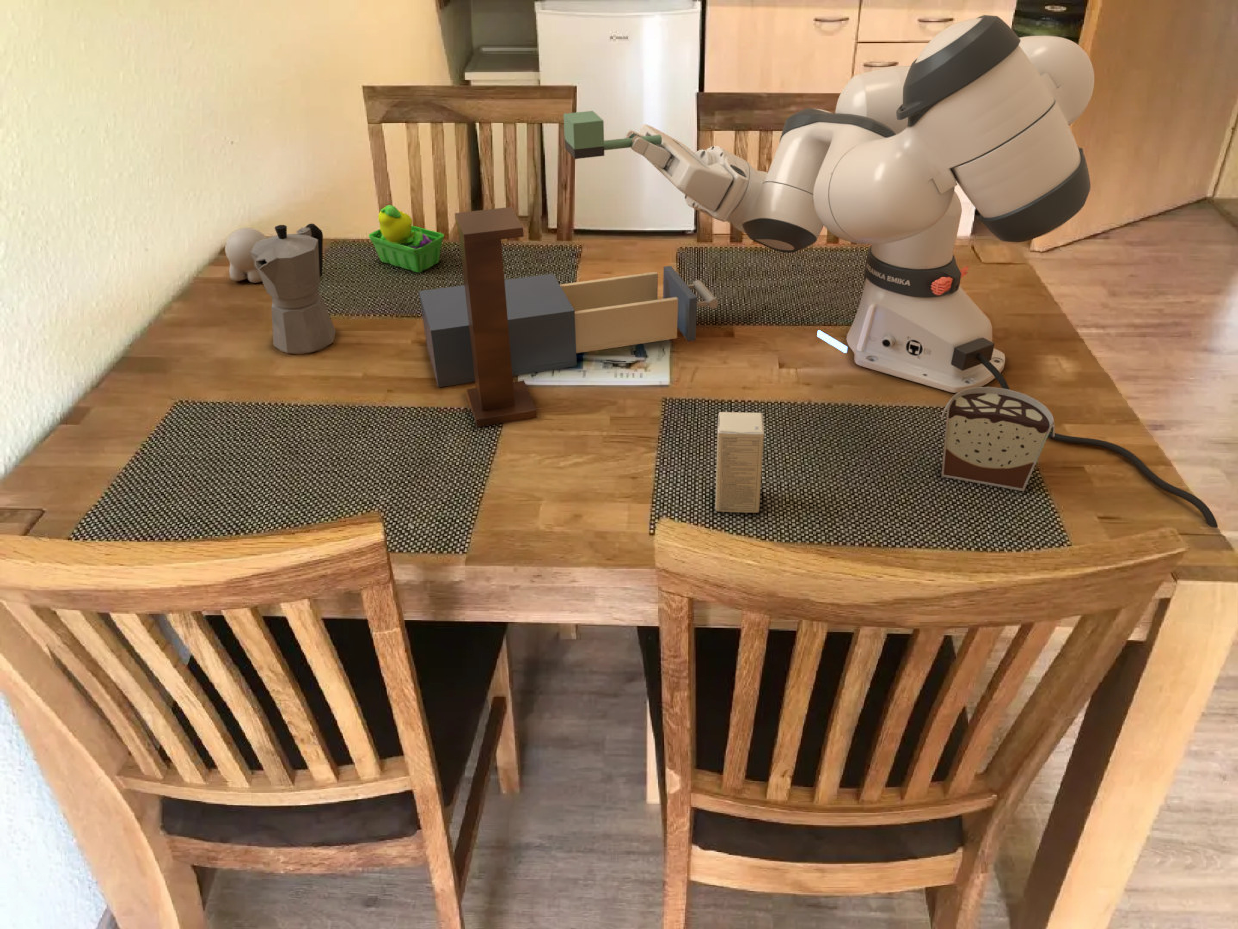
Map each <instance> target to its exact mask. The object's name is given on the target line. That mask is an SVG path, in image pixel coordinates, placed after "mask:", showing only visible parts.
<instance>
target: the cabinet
mask: <svg viewBox="0 0 1238 929" xmlns="http://www.w3.org/2000/svg"><path fill="white" fill-rule="evenodd" d="M504 280H505V292H506V304H507V316H508V328H509V340H510V352H511V364H512V376H513V377H516V376H521V375H528V374H535V373H541V372H547V371H555V370H562V369H567V368H574V367H577V366H578V362H577V358H578V357H577V353H576V333H575V310H574V309H573V307H572V305H571V303H570V302H569V300H568V298H567V296H566V295H565V293H564V291H563V290H562V288H561V286H560V284H561V283H560V282H559V281H558V279H557V277H556V275H555V273H547V274H539V275H531V276H524V277H515V278H510V279H509V278H508V279H504ZM418 294H419V295H418V296H419V301H420V308H421V316H422V323H423V330H424V337H425V343H426V348H427V353H428V356H429V359H430V360H429V361H430V363H431V366H432V370H433V374H434V377H435V380H436V384H437V388H443V387H449V386H457V385H463V384H470V383H475V377H474V368H473V359H472V350H471V341H470V331H469V322H468V313H467V304H466V295H465V286H464V284H463V285H454V286H447V287H439V288H432V289H424V290H419V291H418Z"/></svg>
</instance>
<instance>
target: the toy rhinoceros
mask: <svg viewBox="0 0 1238 929" xmlns="http://www.w3.org/2000/svg"><path fill="white" fill-rule="evenodd" d="M267 238H268V237H267V236H266V235H265V234H264V233H263V232H261V231H260V230H258V229H255V228H253V227H242V228H238V229H236V230H234V231H233V232H231V233H230V234H229V236H228V237H227V239H226V242H225V246H224V252H225V255H226V259H228V261H229V269H228V273H229V277H230V280H231V281H234V282H240V281H241V282H242V281H243V280H246V279H247V280H248V281H249V282H250V283H252V284H257V283H261V282H262V279H261V277H260V274H259V272H258V270H257V268H256V267H255V262H254V260H253V257H252V255H251V250H252V249H253V247H254V245H255V243H256V242H258V241H261V240H264V239H267Z"/></svg>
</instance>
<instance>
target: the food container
mask: <svg viewBox="0 0 1238 929" xmlns="http://www.w3.org/2000/svg"><path fill="white" fill-rule="evenodd" d="M1009 389H1010V388H1009ZM1009 389H1004V388H1001V387H995V386H982V387H977V388H970V389H966V390H963V391H960V392H959V393H954V395H953V396H952V397H951V398H950V400H948V402H947V403H946V404H945V407H944V409H943V411H942V413H941V415H940V419H943V418H944V416H945V414H946V422H945V430H944V444H943V455H942V465H941V477H942V478H948V479H954V480H958V481H964V482H969V483H975V484H981V485H986V486H992V487H997V488H1004V489H1009V490H1015V491H1020V492H1025V489H1026V488H1027V485H1028V483H1029V480H1030V479H1031V476H1032V475H1033V472H1034V469H1035V467H1036V466H1037V463H1038V460H1039V458H1040V456H1041V453H1042V451H1043V449H1044V447H1045V444H1046V441H1047V440H1048V438H1047V437H1048V435H1049V433H1050V431H1051V432H1052V435H1053V437H1055V433H1056V425H1055V421H1054V420H1055V419H1054V416H1053V414H1052V412H1051V411H1050V409H1049V408H1048V407H1047V406H1046V405H1045V404H1044V403H1042V402H1041V401H1039V400H1037V399H1036V398H1034V397H1032V396H1030V395H1028V394H1025V393H1022V392H1020V391H1017V390H1012V389H1010V390H1009Z"/></svg>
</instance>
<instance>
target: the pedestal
mask: <svg viewBox="0 0 1238 929" xmlns="http://www.w3.org/2000/svg"><path fill="white" fill-rule="evenodd" d="M454 221H455V225H456V226H457V229H458V240H459V247H460V248H459V249H460V257H461V258H460V259H461V267H462V274H463V275H462V276H463V285H464V286H465V295H466V304H467V313H468V322H469V331H470V341H471V350H472V359H473V368H474V377H475V382H474V384H475V387H472V388H466V390H465V391H466V392H465V393H466V399H467V401H468V404H469V407H470V412H471V414H472V416H473V420H474V424H475V427H476V428H481V427H486V426H492V425H499V424H506V423H512V422H517V421H523V420H529V419H535V418H538V411H537V408H536V406H535V403H534V400H533V399H532V396H531V394H530V391H529V389H528V387H527V384H526V382H525V380H524V379H523V380H517V381H514V378H513V377H514V376H512V364H511V352H510V340H509V328H508V316H507V304H506V292H505V280H506V279H505V270H504V256H503V247H502V246H503V245H502V240H509V239H517V238H524V237H525V234H524V226H523V224H522V222H521V221H520V219H519V218H518V216H517V214H516V212H515V211H514V209H513V207H512V206H507V207H498V208H489V209H480V210H472V211H471V210H470V211H461V212H454Z"/></svg>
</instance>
